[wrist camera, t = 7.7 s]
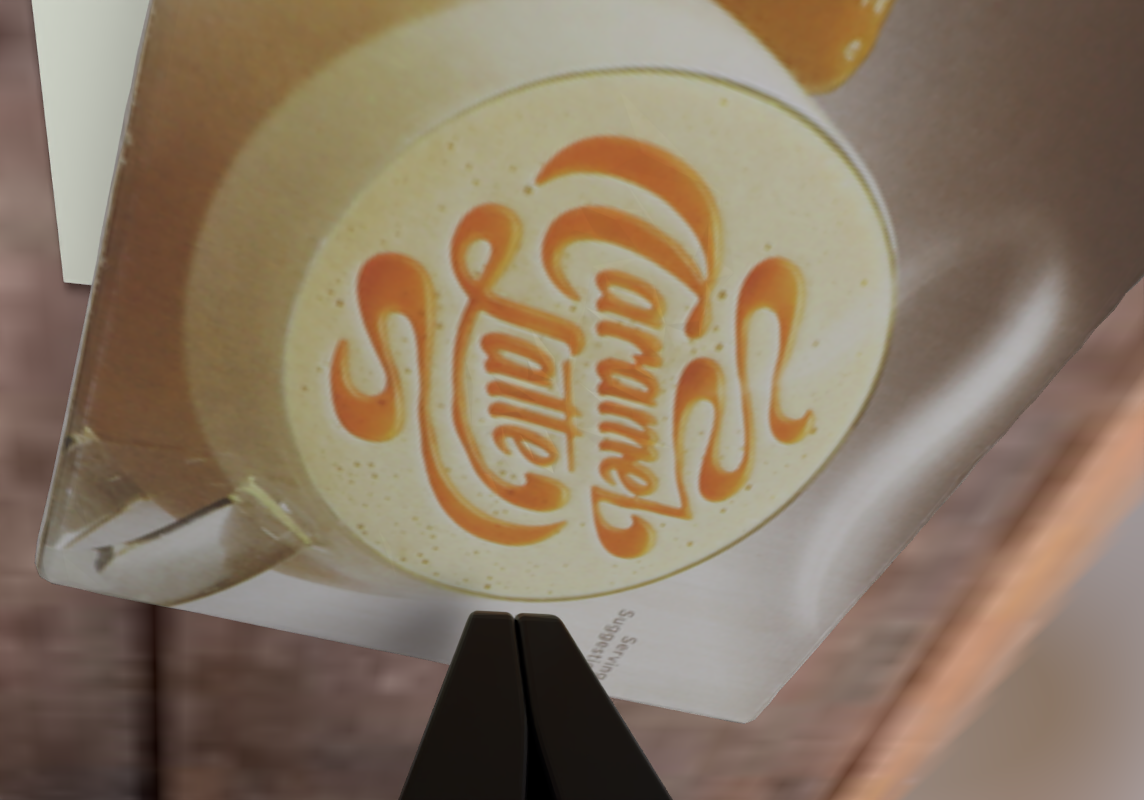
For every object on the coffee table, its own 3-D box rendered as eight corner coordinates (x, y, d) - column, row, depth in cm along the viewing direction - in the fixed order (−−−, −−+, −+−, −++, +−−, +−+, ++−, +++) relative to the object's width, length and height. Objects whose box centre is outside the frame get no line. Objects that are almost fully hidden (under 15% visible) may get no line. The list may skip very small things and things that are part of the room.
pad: (799, 348, 18) (806, 361, 18) (71, 268, 16) (63, 282, 15) (1035, -237, 13) (1051, -233, 12) (-12, -496, 10) (-26, -498, 10)
